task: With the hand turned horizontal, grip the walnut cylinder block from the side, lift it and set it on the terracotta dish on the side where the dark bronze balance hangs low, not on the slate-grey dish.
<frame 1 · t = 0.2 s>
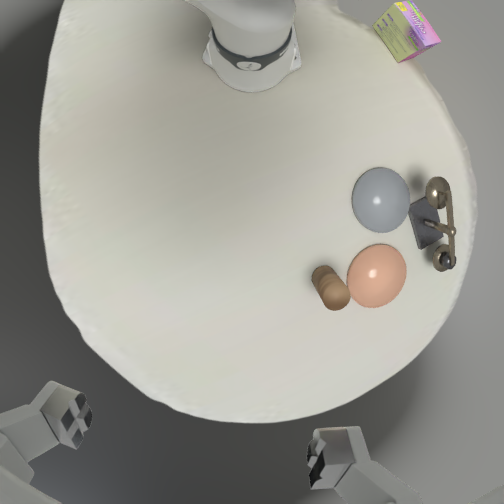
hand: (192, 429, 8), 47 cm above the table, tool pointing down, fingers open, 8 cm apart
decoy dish: (381, 200, 53), on the table
box: (393, 41, 43), on the table
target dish: (376, 275, 57), on the table
balance: (424, 221, 54), on the table
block: (323, 277, 57), on the table
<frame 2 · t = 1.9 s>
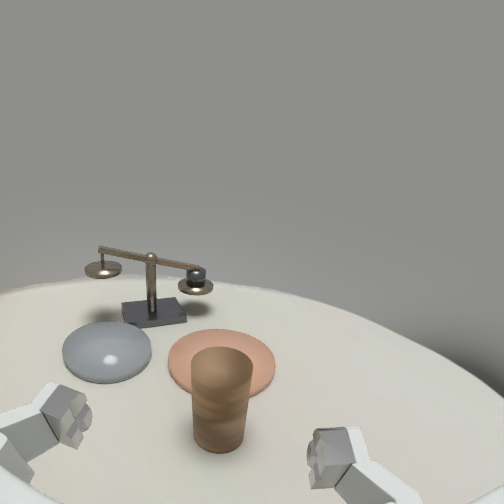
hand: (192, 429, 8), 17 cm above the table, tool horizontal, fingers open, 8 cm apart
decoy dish: (106, 352, 34), on the table
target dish: (221, 364, 36), on the table
balance: (152, 315, 46), on the table
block: (218, 434, 25), on the table
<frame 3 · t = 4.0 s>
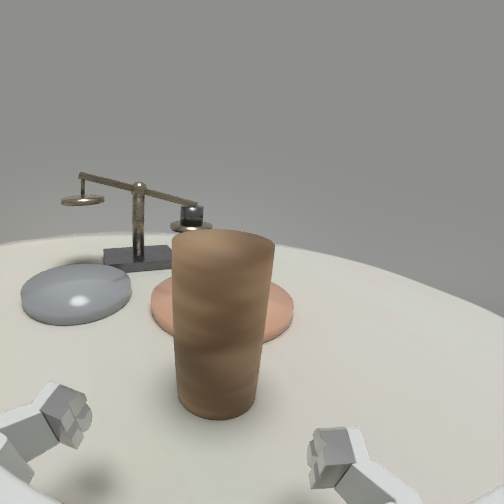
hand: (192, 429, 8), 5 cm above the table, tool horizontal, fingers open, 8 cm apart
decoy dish: (75, 294, 26), on the table
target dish: (221, 306, 28), on the table
balance: (138, 262, 38), on the table
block: (216, 391, 17), on the table
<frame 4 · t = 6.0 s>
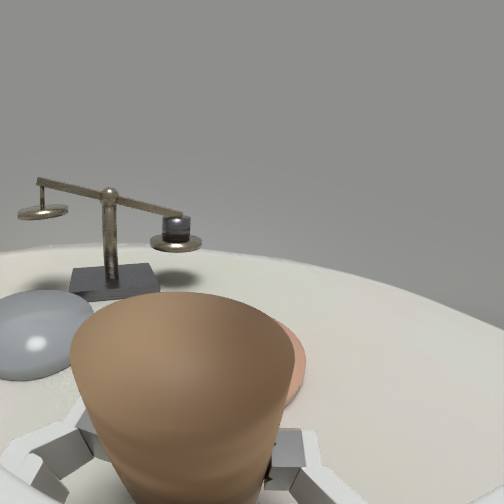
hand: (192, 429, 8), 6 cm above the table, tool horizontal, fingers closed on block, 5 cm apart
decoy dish: (30, 332, 18), on the table
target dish: (209, 358, 20), on the table
balance: (112, 285, 30), on the table
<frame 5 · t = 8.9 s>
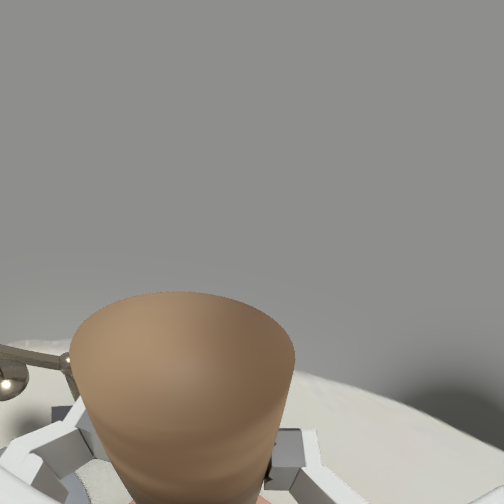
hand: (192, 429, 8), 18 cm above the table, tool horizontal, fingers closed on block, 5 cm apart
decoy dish: (31, 501, 11), on the table
balance: (96, 433, 22), on the table
when the fingers open (8 cm above the table, at t = 12.0 s): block drops 2 cm, resting on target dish.
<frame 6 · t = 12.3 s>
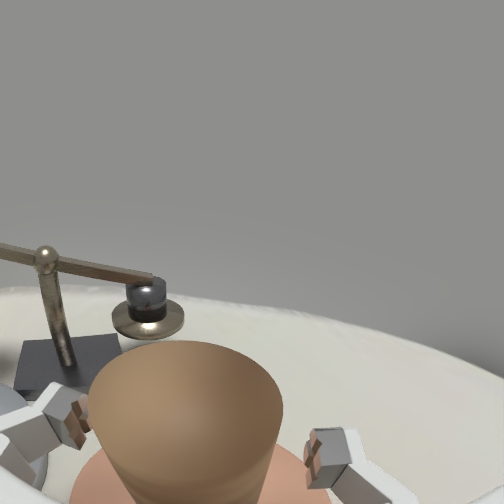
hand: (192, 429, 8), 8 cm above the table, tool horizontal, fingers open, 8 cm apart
balance: (70, 370, 19), on the table
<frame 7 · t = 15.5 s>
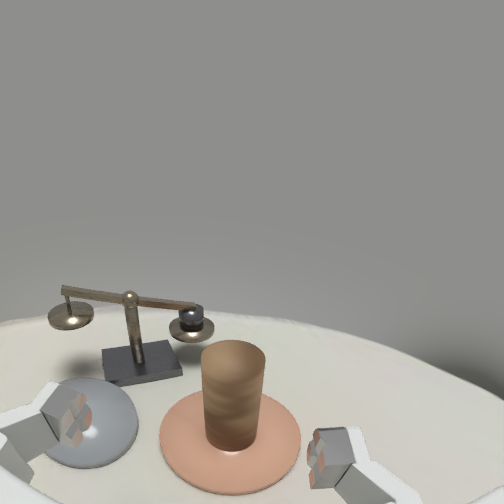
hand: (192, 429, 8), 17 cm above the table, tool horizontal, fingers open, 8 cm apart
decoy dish: (83, 422, 23), on the table
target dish: (229, 439, 24), on the table
balance: (140, 365, 34), on the table
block: (231, 432, 24), point 1 cm above the table, touching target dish
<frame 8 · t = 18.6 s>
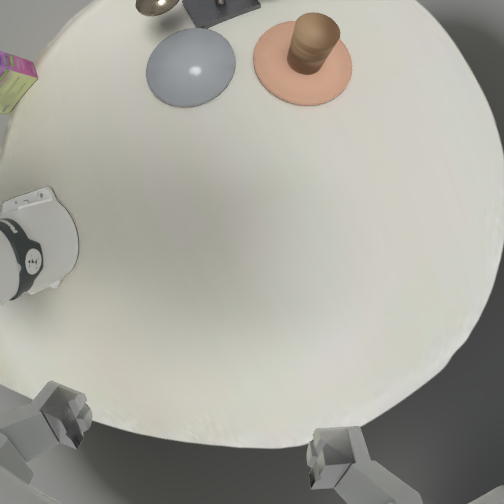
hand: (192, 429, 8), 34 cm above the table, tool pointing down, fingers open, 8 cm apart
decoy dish: (190, 66, 34), on the table
box: (20, 87, 34), on the table
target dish: (303, 62, 34), on the table
balance: (221, 4, 31), on the table
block: (304, 59, 32), point 1 cm above the table, touching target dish
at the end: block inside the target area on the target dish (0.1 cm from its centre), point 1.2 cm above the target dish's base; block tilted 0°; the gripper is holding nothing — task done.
